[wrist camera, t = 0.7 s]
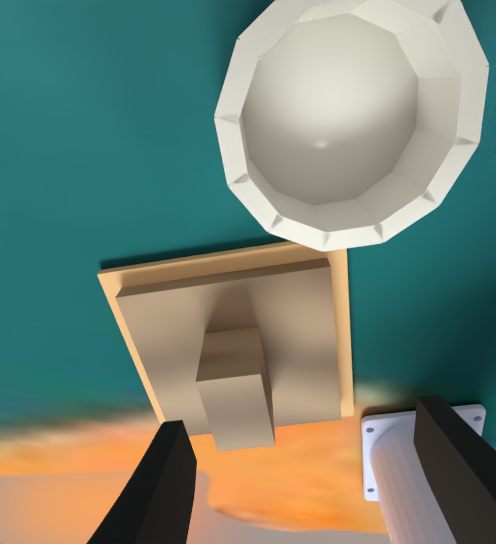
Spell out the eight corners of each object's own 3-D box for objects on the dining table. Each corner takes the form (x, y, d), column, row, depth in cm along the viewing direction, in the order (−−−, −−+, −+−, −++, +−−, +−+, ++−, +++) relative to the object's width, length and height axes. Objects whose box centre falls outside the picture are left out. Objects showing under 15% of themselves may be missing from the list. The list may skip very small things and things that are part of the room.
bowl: (424, 199, 17) (468, 230, 14) (244, 227, 18) (243, 263, 15) (438, -31, 13) (506, -71, 10) (205, 18, 14) (190, -1, 10)
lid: (338, 406, 23) (355, 473, 19) (175, 424, 24) (160, 491, 20) (327, 257, 18) (348, 306, 14) (121, 287, 19) (87, 341, 15)
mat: (352, 409, 24) (354, 415, 24) (166, 429, 25) (165, 435, 25) (343, 232, 18) (346, 236, 18) (100, 269, 19) (96, 274, 19)
